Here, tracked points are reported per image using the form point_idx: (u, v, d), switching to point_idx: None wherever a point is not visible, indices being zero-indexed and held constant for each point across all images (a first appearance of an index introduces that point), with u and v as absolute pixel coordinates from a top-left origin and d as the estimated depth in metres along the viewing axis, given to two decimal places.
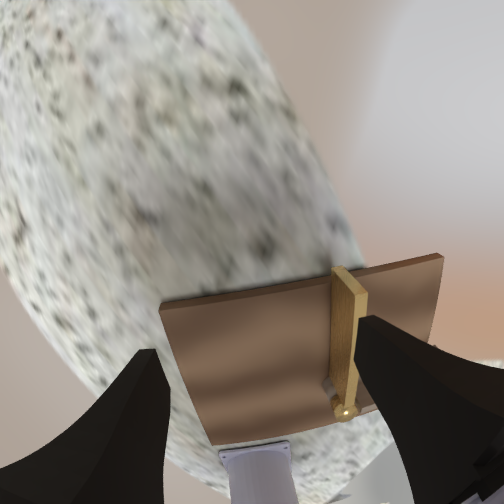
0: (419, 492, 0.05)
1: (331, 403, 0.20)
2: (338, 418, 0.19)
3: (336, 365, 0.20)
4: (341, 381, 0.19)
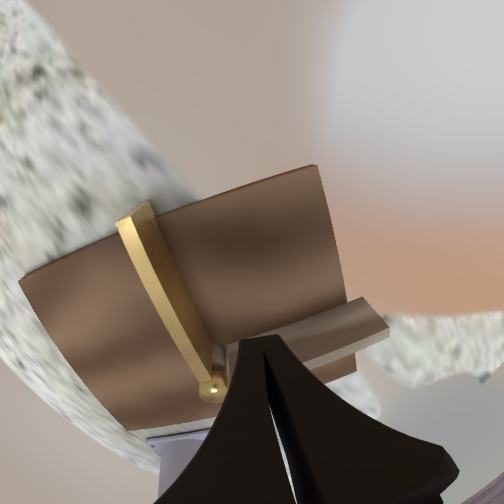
0: None
1: None
2: (202, 397, 0.16)
3: None
4: None
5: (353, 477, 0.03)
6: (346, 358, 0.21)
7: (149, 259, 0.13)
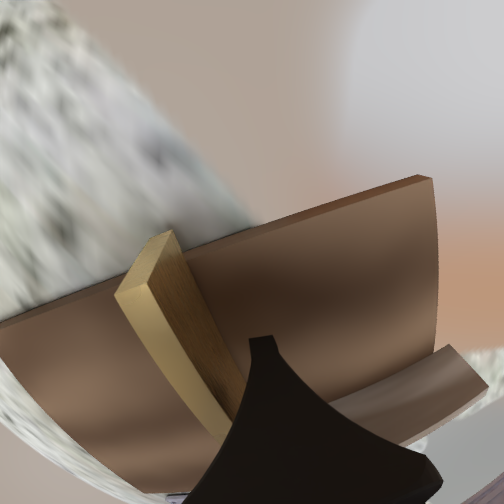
0: None
1: None
2: None
3: None
4: None
5: (331, 484, 0.03)
6: None
7: (192, 358, 0.06)
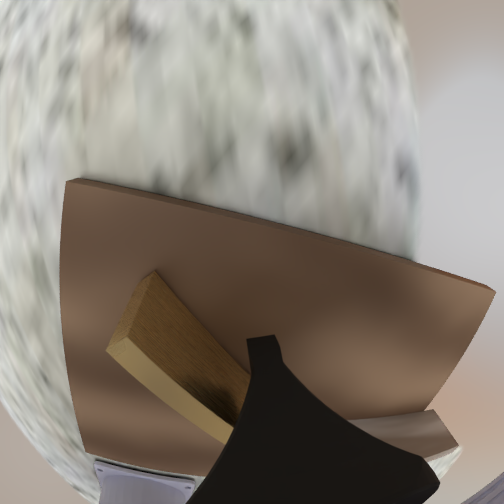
0: None
1: None
2: None
3: None
4: None
5: (326, 485, 0.03)
6: None
7: (187, 388, 0.07)
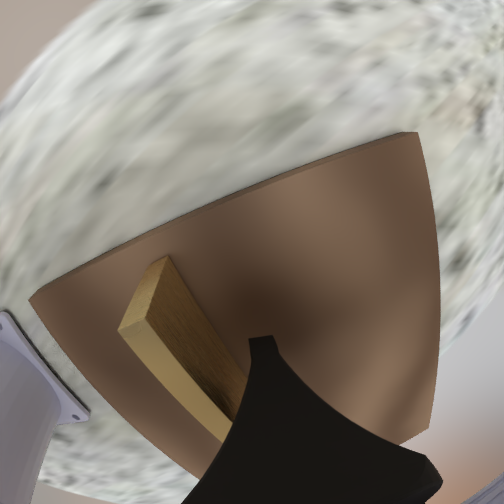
0: None
1: None
2: None
3: None
4: None
5: (330, 484, 0.03)
6: None
7: (196, 379, 0.07)
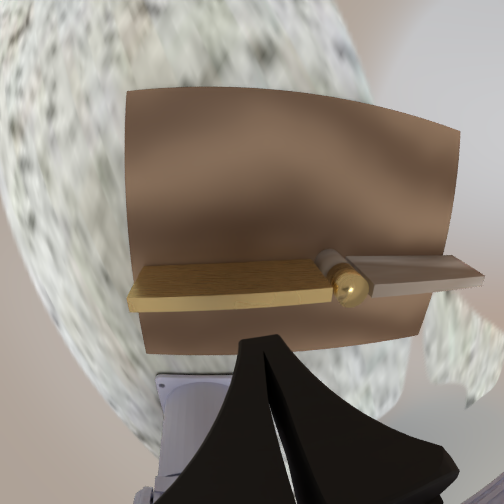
0: None
1: None
2: (351, 305, 0.15)
3: None
4: None
5: (353, 478, 0.03)
6: (418, 316, 0.21)
7: (170, 295, 0.13)
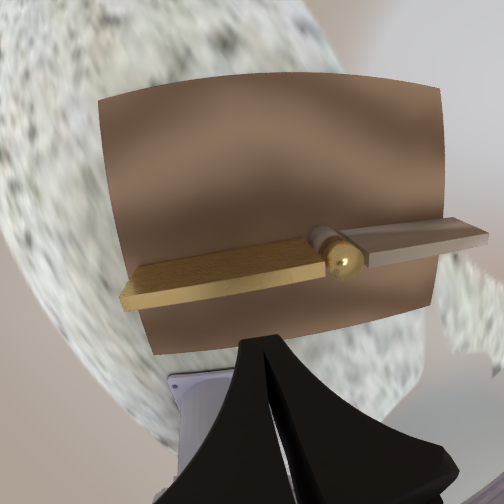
0: None
1: None
2: (348, 278, 0.14)
3: None
4: None
5: (353, 478, 0.03)
6: (427, 284, 0.20)
7: (160, 289, 0.13)
